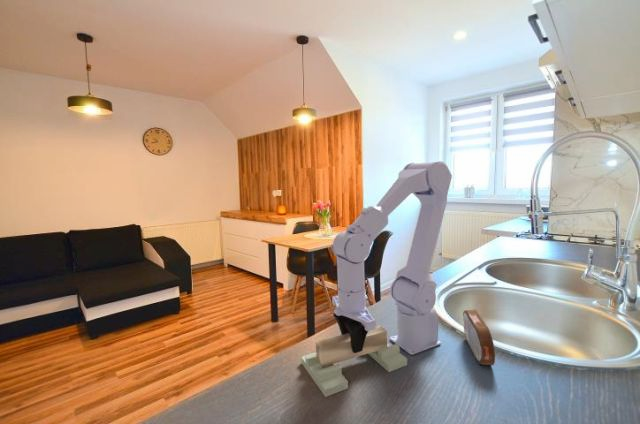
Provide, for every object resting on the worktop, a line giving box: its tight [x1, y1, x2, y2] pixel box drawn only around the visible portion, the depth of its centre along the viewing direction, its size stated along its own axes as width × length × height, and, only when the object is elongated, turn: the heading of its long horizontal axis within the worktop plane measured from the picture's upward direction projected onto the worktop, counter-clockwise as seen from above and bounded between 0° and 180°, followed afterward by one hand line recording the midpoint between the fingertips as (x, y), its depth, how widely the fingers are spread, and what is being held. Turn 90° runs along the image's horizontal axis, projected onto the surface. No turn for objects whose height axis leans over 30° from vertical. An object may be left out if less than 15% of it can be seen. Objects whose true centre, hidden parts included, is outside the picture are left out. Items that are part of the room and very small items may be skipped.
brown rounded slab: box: [462, 309, 496, 366], centre depth 69 cm, size 15×3×8 cm, turn 168°
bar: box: [315, 324, 388, 367], centre depth 66 cm, size 3×16×4 cm, turn 112°
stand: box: [300, 343, 408, 398], centre depth 67 cm, size 20×12×3 cm, turn 116°
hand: (352, 346), depth 66 cm, fingers closed on bar, 3 cm apart
